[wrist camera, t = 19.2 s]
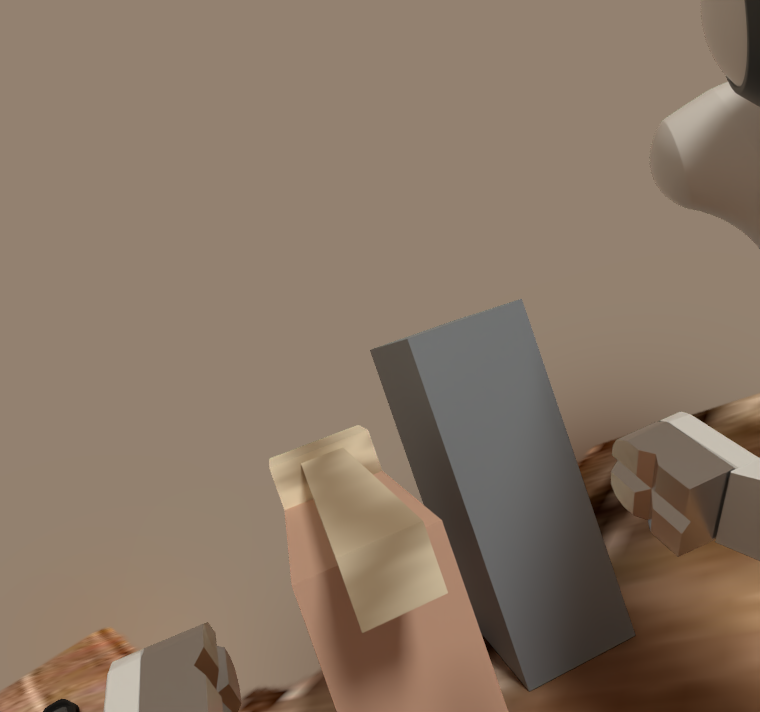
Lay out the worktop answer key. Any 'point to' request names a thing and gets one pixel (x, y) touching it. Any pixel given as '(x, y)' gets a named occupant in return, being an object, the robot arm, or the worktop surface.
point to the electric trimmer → (62, 706)
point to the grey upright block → (506, 489)
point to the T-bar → (362, 525)
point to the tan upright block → (391, 630)
